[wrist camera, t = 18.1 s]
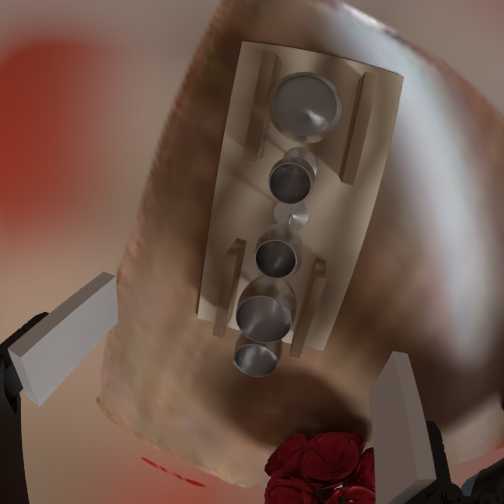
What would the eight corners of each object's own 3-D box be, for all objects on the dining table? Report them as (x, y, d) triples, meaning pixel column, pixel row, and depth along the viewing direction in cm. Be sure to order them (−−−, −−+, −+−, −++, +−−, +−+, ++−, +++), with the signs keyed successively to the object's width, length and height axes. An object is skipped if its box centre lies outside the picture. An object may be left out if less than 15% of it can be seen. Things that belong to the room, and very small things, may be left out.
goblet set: (291, 320, 41) (278, 393, 29) (248, 310, 41) (220, 379, 29) (339, 94, 30) (353, 72, 18) (286, 84, 30) (267, 57, 18)
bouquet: (395, 433, 55) (402, 414, 34) (391, 529, 40) (393, 570, 19) (301, 440, 63) (250, 423, 42) (293, 531, 48) (235, 563, 27)
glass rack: (402, 77, 28) (417, 68, 23) (323, 348, 42) (322, 375, 37) (243, 42, 30) (230, 28, 25) (198, 315, 44) (184, 338, 39)
